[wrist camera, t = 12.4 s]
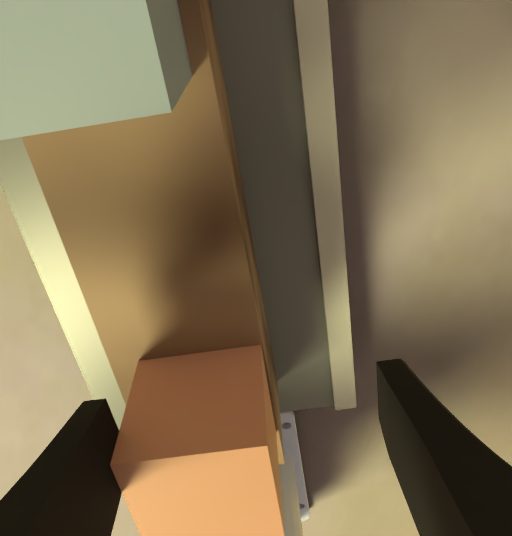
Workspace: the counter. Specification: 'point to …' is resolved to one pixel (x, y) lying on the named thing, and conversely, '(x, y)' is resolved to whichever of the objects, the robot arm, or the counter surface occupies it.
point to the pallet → (161, 223)
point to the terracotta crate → (201, 447)
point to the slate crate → (88, 63)
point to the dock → (247, 205)
